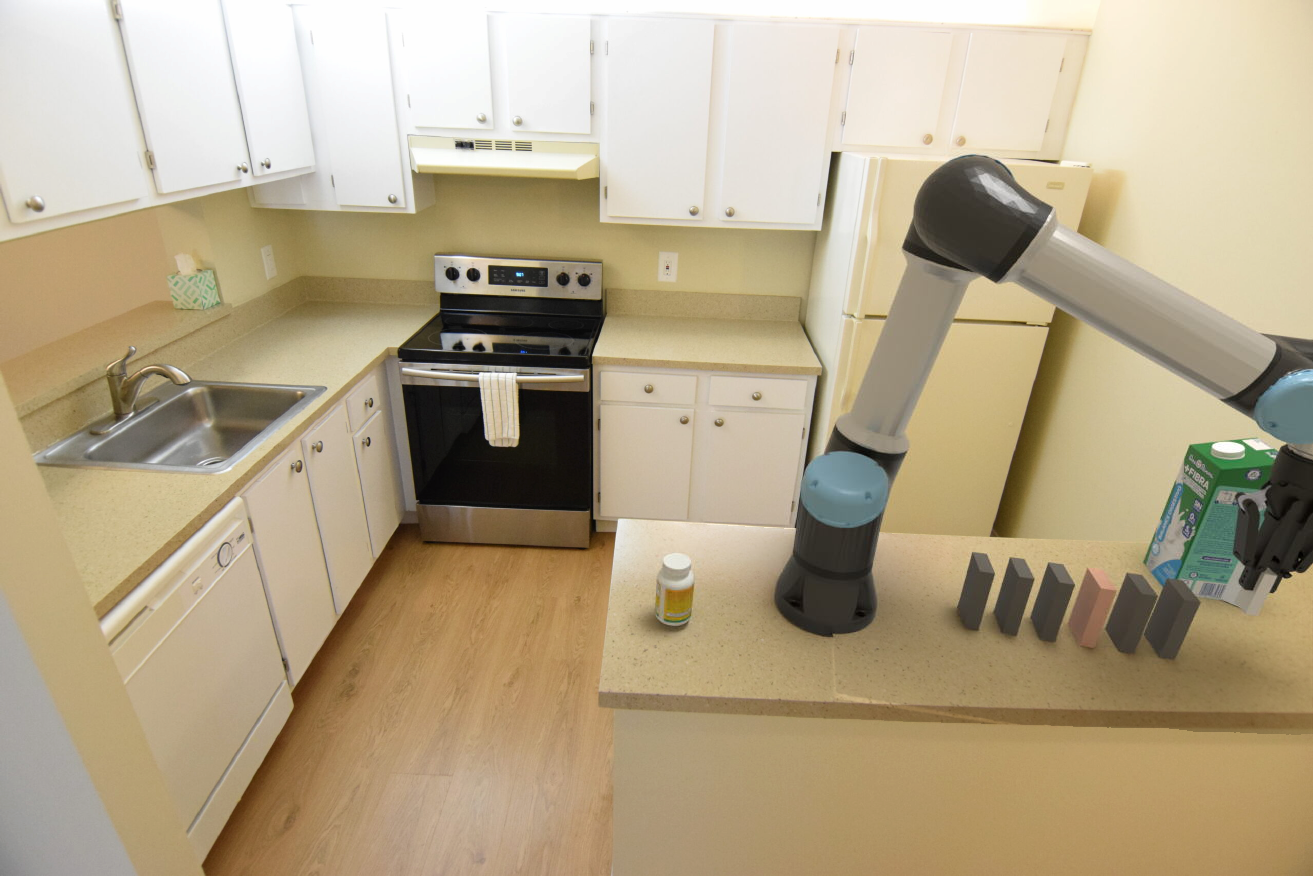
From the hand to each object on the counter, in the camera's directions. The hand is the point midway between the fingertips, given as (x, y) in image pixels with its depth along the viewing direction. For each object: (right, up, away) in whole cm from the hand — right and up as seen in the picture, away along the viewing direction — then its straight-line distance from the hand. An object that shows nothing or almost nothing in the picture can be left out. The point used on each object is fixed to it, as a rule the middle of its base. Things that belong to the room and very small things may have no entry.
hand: (1245, 608), depth 94 cm
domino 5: (-13, -6, +6) cm, 16 cm away
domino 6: (-8, -7, +5) cm, 12 cm away
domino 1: (-34, -4, +9) cm, 35 cm away
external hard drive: (+9, -2, +16) cm, 18 cm away
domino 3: (-24, -5, +7) cm, 25 cm away
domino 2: (-29, -4, +8) cm, 30 cm away
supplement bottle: (-78, -3, +7) cm, 78 cm away
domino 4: (-18, -6, +6) cm, 20 cm away
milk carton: (+7, -1, +20) cm, 21 cm away
